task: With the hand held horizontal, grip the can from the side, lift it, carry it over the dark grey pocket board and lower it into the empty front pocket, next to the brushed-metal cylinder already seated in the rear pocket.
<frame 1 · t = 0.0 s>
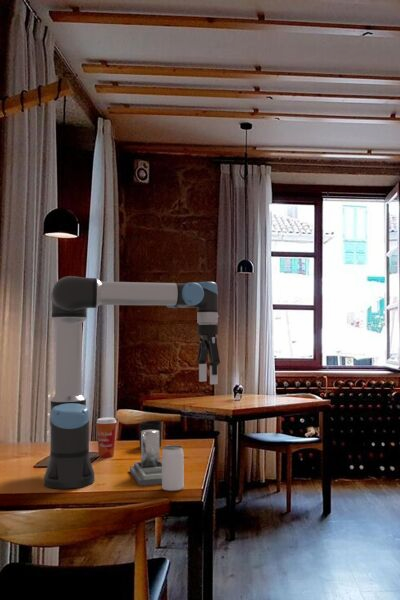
hand: (208, 382, 192), 28 cm above the table, tool pointing down, fingers open, 13 cm apart
pocket board: (153, 476, 170), on the table
seated cylinder: (150, 473, 174), resting on pocket board
paper cup: (106, 456, 201), on the table
pen holder: (150, 447, 216), on the table
can: (172, 489, 157), on the table
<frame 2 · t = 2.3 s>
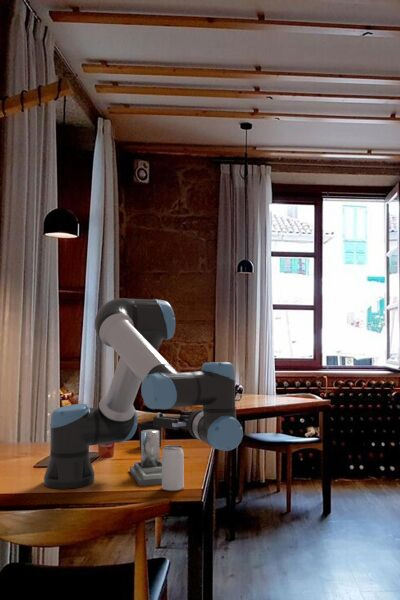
hand: (181, 416, 150), 22 cm above the table, tool horizontal, fingers open, 13 cm apart
nothing on the table moved.
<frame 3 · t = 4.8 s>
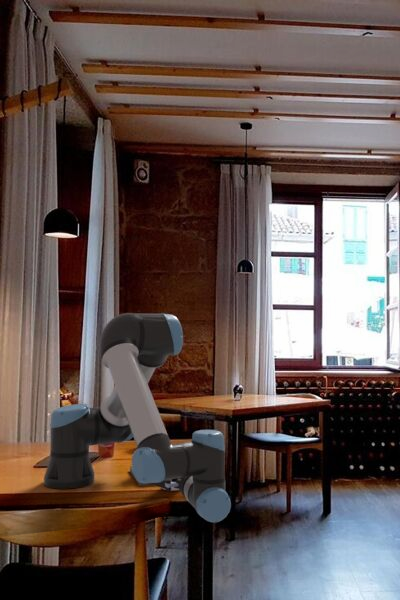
hand: (177, 468, 152), 7 cm above the table, tool horizontal, fingers open, 13 cm apart
nothing on the table moved.
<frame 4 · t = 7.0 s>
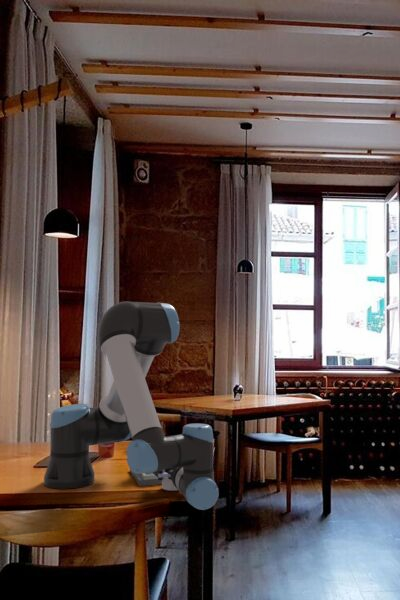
hand: (169, 460, 162), 7 cm above the table, tool horizontal, fingers closed on can, 6 cm apart
can: (172, 489, 157), on the table, touching gripper
everything else where it was.
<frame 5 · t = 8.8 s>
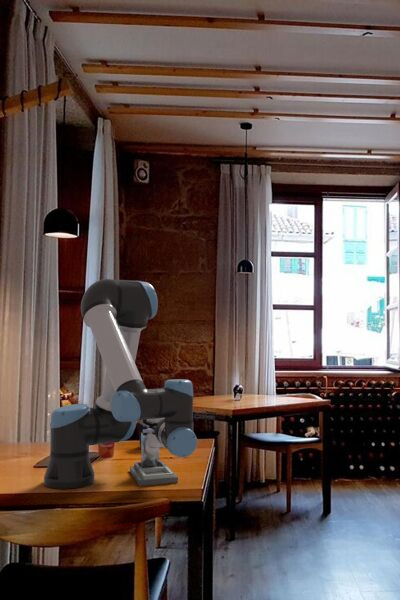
hand: (154, 420, 171), 18 cm above the table, tool horizontal, fingers closed on can, 6 cm apart
can: (157, 446, 165), point 10 cm above the table, touching gripper
everything else where it was.
when the fingers open (10 cm above the table, at t = 10.7 s): can drops 1 cm, resting on pocket board.
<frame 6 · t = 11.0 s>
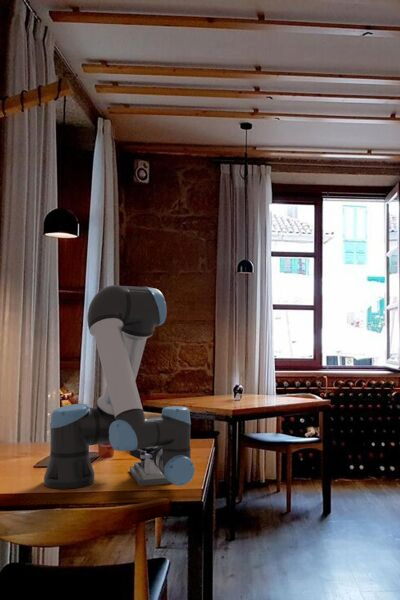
hand: (153, 444, 171), 10 cm above the table, tool horizontal, fingers open, 10 cm apart
can: (154, 475, 166), point 1 cm above the table, touching pocket board
everything else where it was.
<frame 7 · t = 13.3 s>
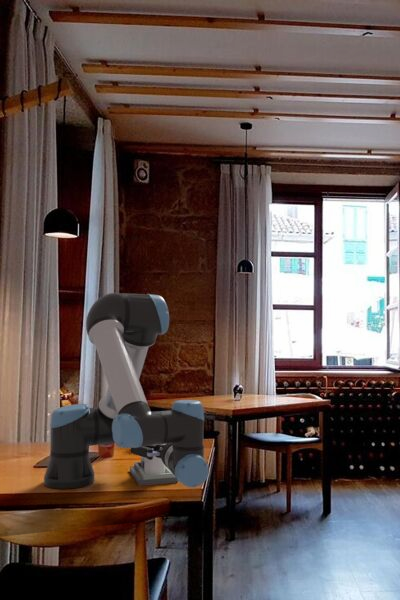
hand: (160, 440, 157), 14 cm above the table, tool horizontal, fingers open, 13 cm apart
nothing on the table moved.
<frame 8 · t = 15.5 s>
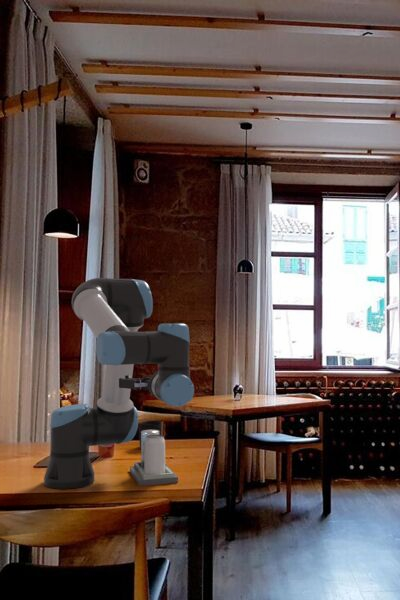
hand: (149, 379, 156), 32 cm above the table, tool horizontal, fingers open, 13 cm apart
nothing on the table moved.
at the end: can inside the target area (0.4 cm from its centre), point 1.4 cm above the table; can tilted 0°; the gripper is holding nothing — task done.
